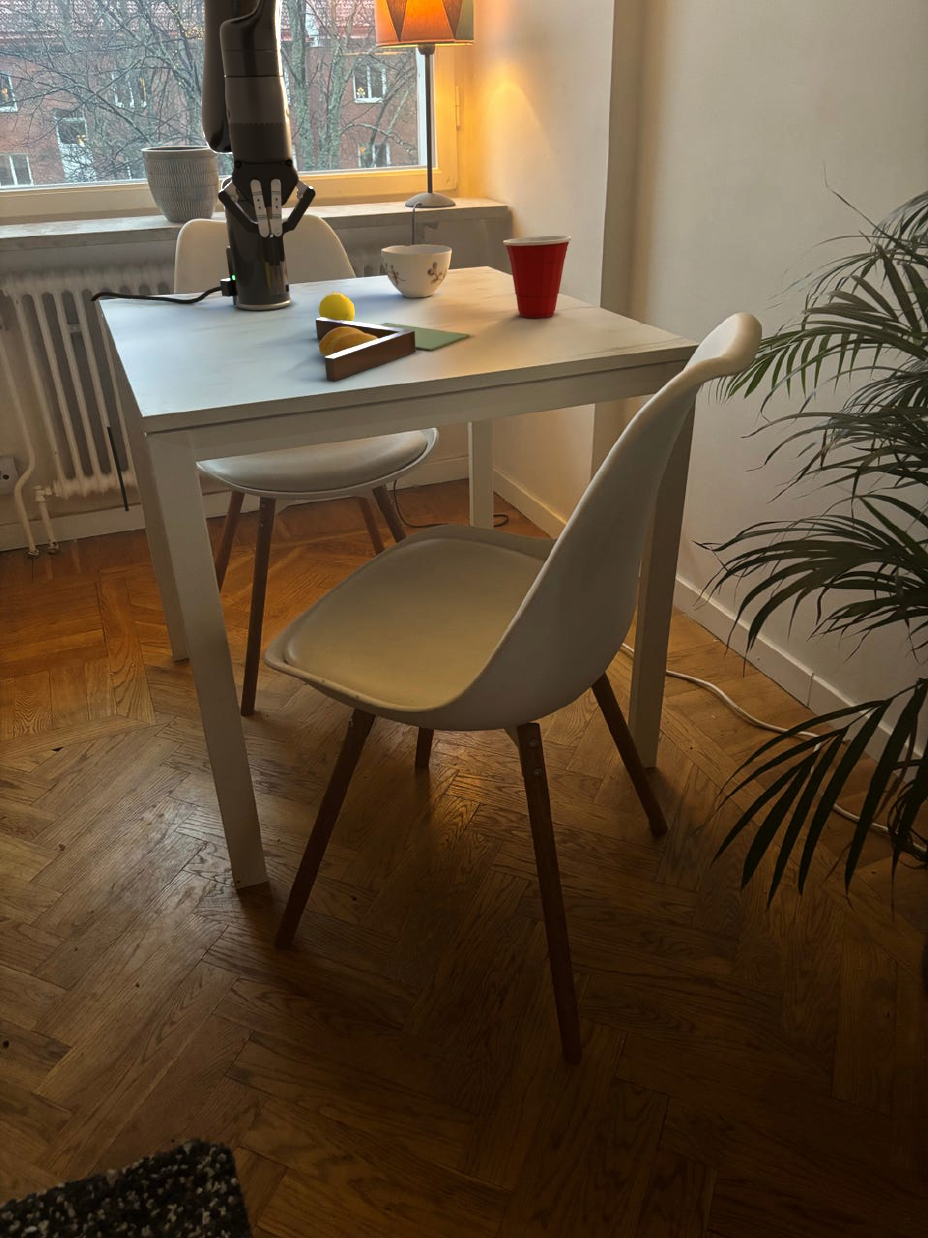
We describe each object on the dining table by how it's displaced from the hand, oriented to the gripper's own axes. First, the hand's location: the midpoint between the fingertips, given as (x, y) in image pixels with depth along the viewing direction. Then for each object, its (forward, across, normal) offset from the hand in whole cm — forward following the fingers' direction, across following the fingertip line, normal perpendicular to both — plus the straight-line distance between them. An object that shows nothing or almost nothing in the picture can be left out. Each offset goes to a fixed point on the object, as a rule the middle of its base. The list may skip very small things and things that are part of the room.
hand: (274, 265), depth 125 cm
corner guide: (+13, -6, 0) cm, 14 cm away
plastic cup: (+13, -41, -19) cm, 47 cm away
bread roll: (+13, -9, +1) cm, 16 cm away
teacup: (+13, -24, -42) cm, 50 cm away
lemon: (+13, -8, -18) cm, 23 cm away
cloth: (+13, -18, -9) cm, 24 cm away
